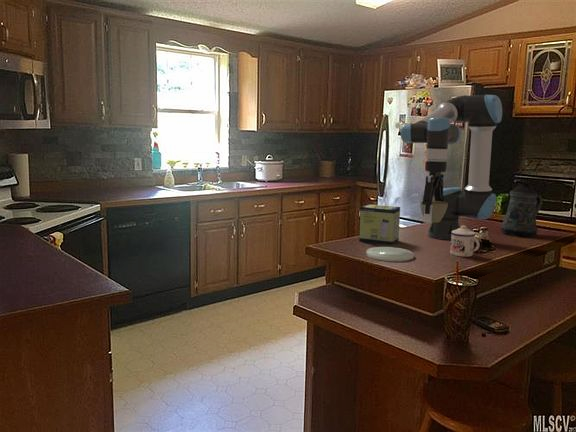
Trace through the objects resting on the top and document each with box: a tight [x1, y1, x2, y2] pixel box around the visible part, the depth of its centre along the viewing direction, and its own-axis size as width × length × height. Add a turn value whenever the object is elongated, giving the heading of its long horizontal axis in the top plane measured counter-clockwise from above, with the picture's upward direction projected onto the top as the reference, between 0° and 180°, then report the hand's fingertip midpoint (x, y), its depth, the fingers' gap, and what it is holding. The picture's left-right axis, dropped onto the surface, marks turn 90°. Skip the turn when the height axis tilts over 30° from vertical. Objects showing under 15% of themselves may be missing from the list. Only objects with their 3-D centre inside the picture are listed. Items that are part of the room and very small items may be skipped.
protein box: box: [358, 204, 401, 246], centre depth 222 cm, size 10×16×16 cm
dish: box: [366, 246, 415, 263], centre depth 196 cm, size 18×18×2 cm
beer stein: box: [500, 182, 543, 238], centre depth 247 cm, size 16×19×25 cm
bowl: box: [419, 200, 448, 223], centre depth 186 cm, size 10×10×7 cm
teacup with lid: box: [449, 225, 480, 258], centre depth 200 cm, size 12×9×12 cm
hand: (431, 220), depth 187 cm, fingers closed on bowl, 10 cm apart
